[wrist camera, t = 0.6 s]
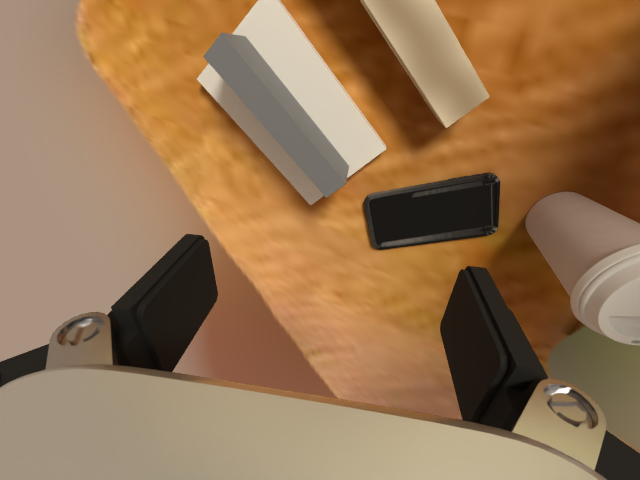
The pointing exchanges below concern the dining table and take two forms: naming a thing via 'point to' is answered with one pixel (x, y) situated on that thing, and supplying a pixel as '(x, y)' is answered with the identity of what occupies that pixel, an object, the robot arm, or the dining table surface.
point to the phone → (434, 211)
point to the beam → (429, 55)
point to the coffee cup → (592, 261)
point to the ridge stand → (289, 101)
